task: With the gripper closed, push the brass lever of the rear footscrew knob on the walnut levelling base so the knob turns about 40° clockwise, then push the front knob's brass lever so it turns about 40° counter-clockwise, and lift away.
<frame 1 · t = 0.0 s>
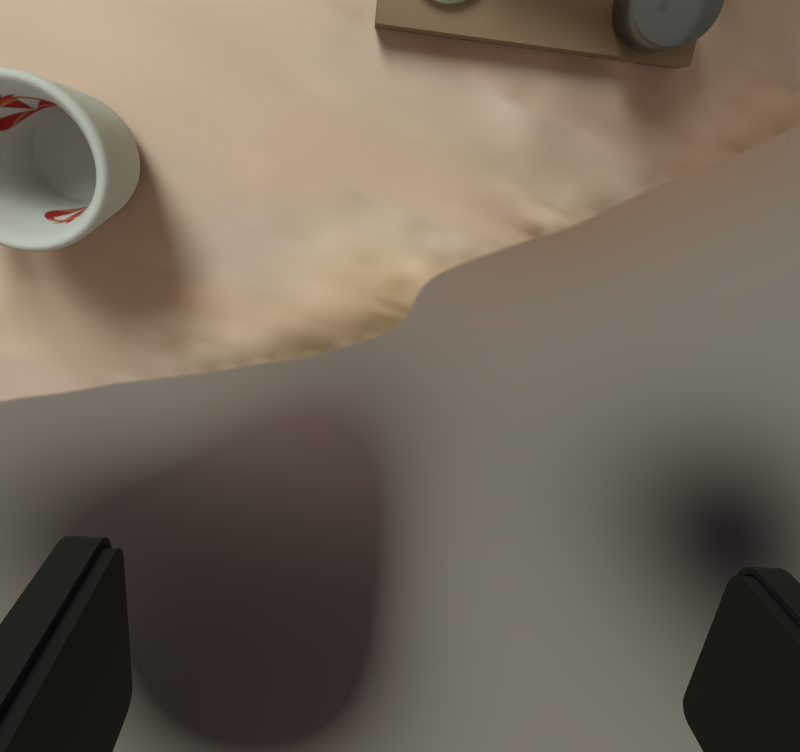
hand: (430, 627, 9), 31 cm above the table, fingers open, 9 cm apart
cup: (65, 164, 35), on the table
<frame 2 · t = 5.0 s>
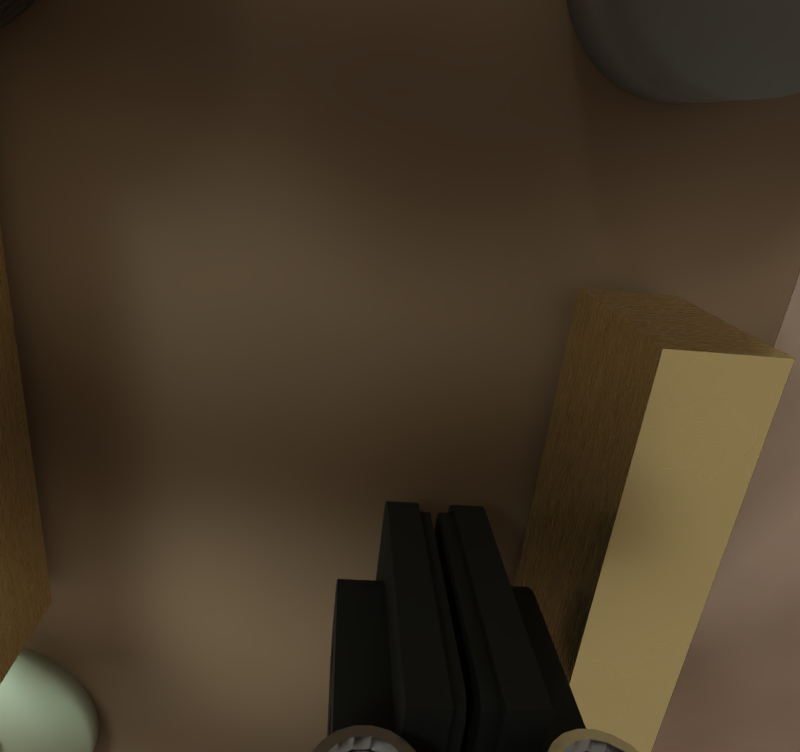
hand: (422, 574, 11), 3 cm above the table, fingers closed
base plate: (265, 393, 12), on the table
knob b: (572, 684, 11), point 3 cm above the table, hinge at 0.0°, touching gripper
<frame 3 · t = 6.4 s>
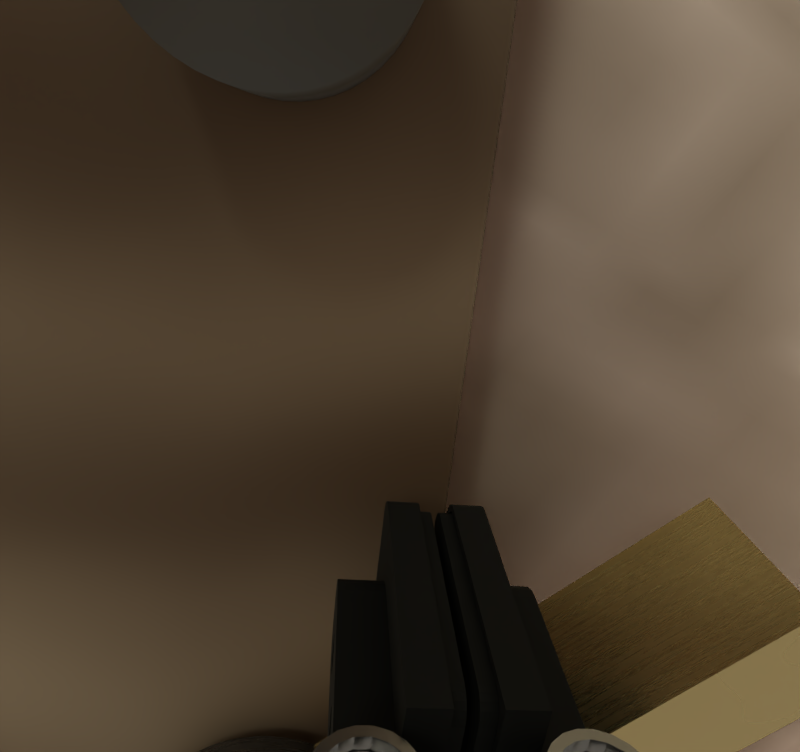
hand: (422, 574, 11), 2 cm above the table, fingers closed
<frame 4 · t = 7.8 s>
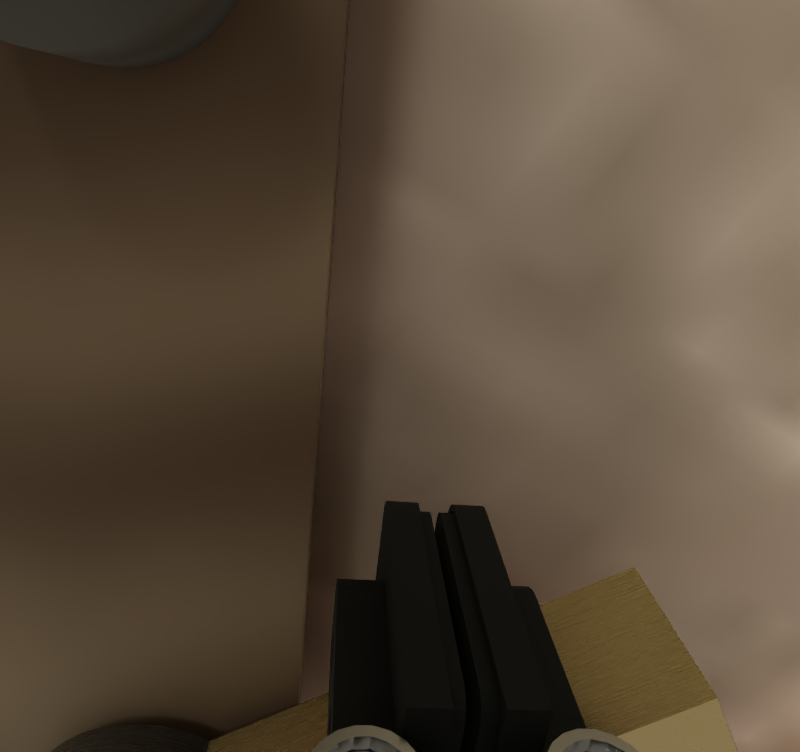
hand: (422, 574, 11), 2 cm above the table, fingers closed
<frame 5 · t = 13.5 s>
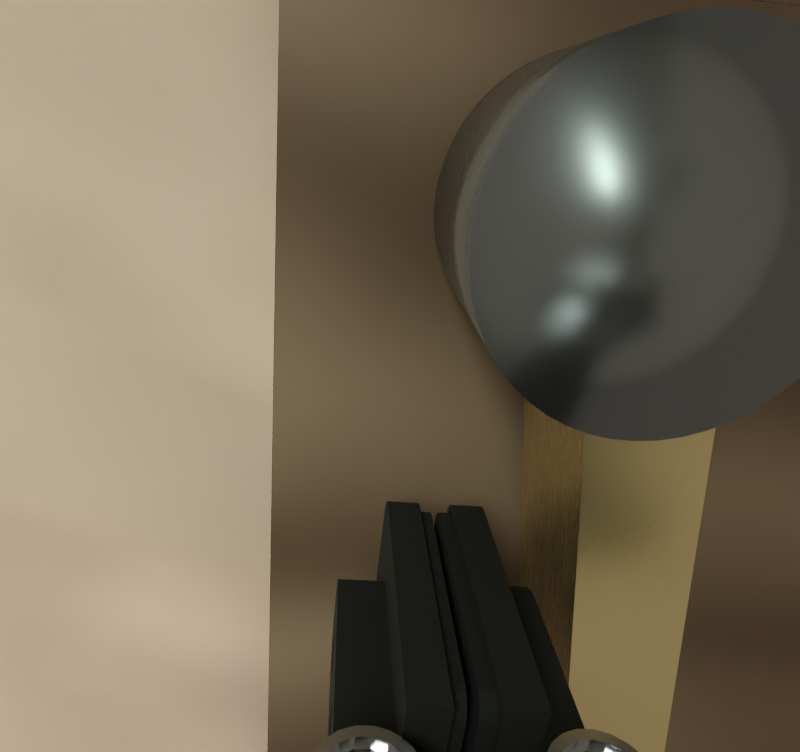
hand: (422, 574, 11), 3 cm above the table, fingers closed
base plate: (666, 551, 14), on the table
knob a: (598, 520, 9), point 3 cm above the table, hinge at 8.6°, touching gripper
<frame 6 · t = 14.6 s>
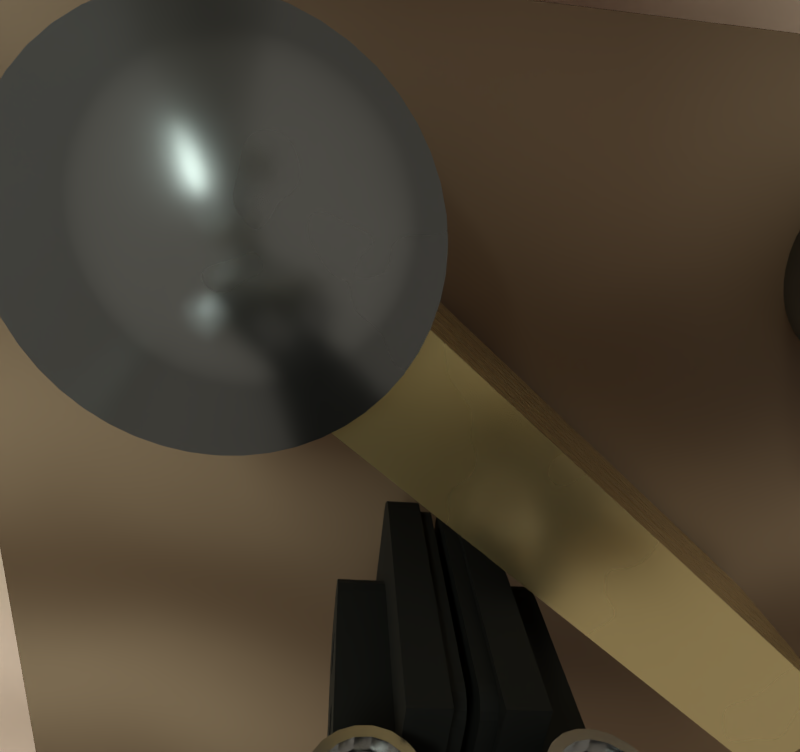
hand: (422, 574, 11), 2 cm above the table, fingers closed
base plate: (466, 566, 14), on the table
knob a: (495, 449, 9), point 3 cm above the table, hinge at 51.4°, touching gripper
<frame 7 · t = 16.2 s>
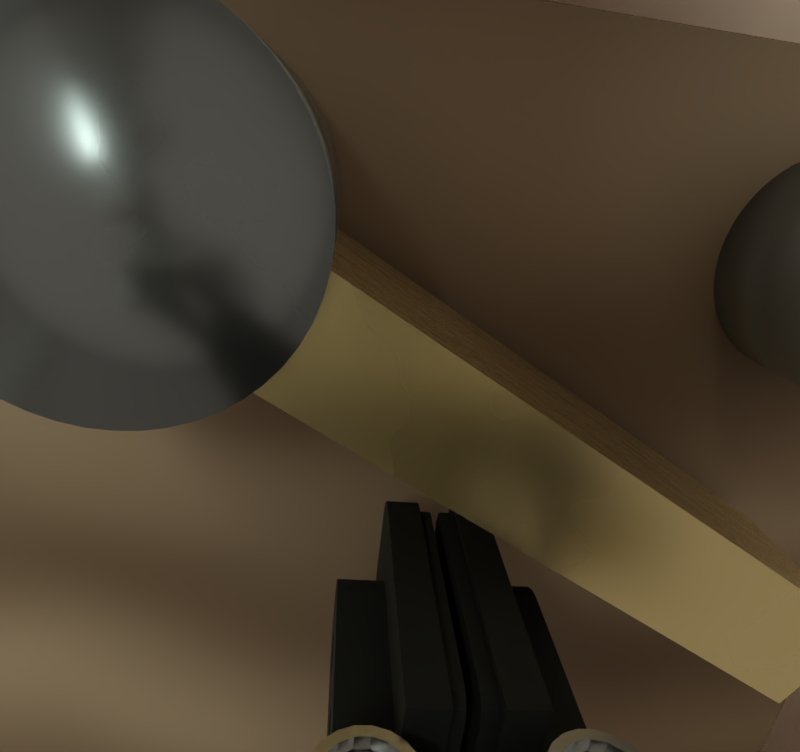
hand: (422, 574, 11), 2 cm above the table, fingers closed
base plate: (403, 561, 13), on the table
knob a: (447, 397, 8), point 3 cm above the table, hinge at 61.6°
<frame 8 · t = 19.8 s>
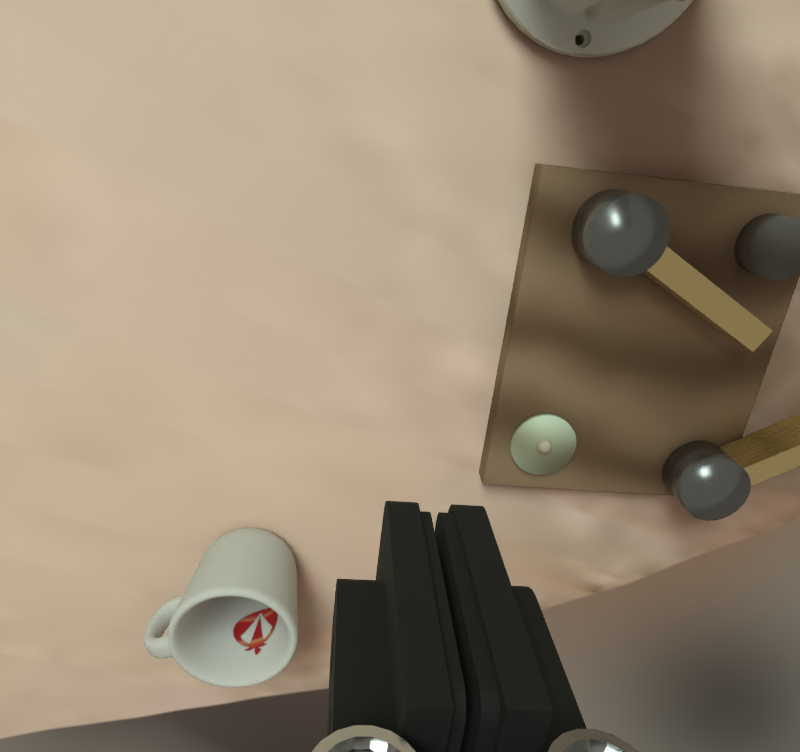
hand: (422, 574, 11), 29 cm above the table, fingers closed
base plate: (632, 344, 41), on the table
knob a: (674, 275, 36), point 3 cm above the table, hinge at 61.7°
cup: (235, 562, 46), on the table
knob b: (768, 453, 41), point 3 cm above the table, hinge at -58.7°
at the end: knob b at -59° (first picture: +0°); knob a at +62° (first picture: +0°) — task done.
